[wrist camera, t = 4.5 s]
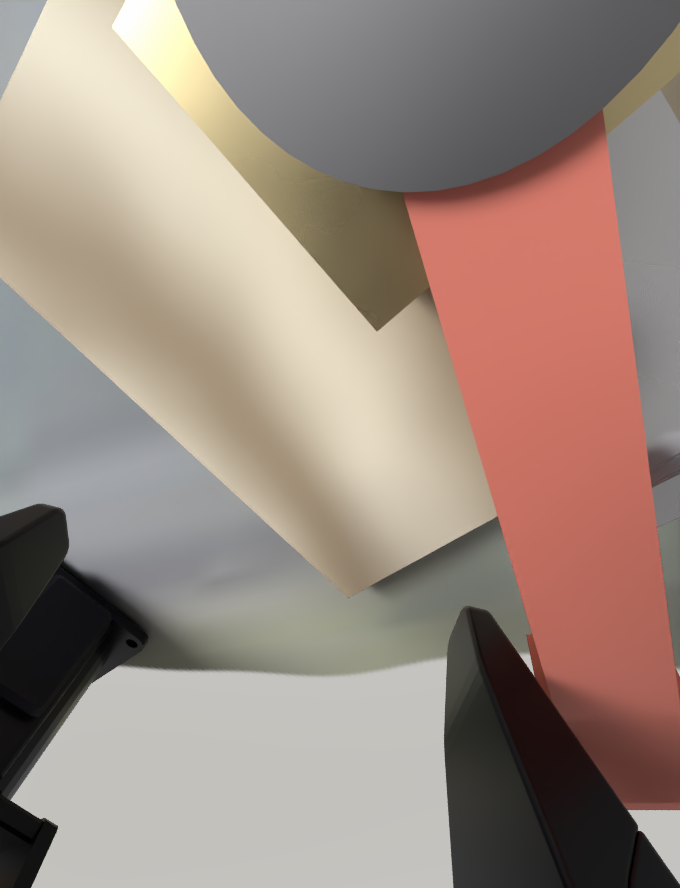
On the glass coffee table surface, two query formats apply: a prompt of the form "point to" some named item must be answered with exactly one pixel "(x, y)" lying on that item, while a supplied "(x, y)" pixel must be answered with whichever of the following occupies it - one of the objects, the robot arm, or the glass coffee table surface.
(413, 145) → the lever
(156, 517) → the glass coffee table surface
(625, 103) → the valve body
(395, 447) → the board
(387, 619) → the glass coffee table surface
